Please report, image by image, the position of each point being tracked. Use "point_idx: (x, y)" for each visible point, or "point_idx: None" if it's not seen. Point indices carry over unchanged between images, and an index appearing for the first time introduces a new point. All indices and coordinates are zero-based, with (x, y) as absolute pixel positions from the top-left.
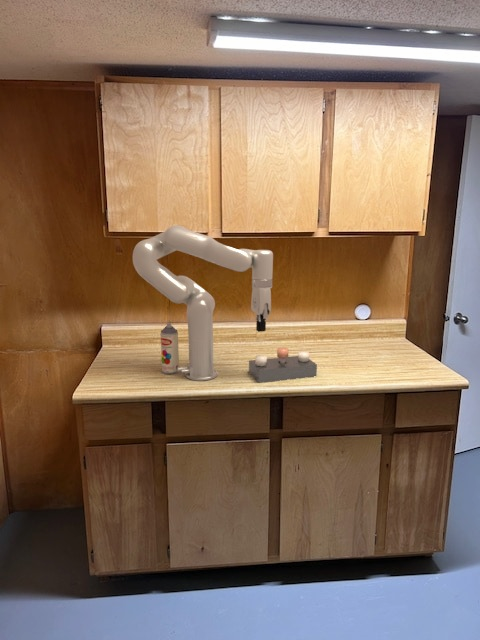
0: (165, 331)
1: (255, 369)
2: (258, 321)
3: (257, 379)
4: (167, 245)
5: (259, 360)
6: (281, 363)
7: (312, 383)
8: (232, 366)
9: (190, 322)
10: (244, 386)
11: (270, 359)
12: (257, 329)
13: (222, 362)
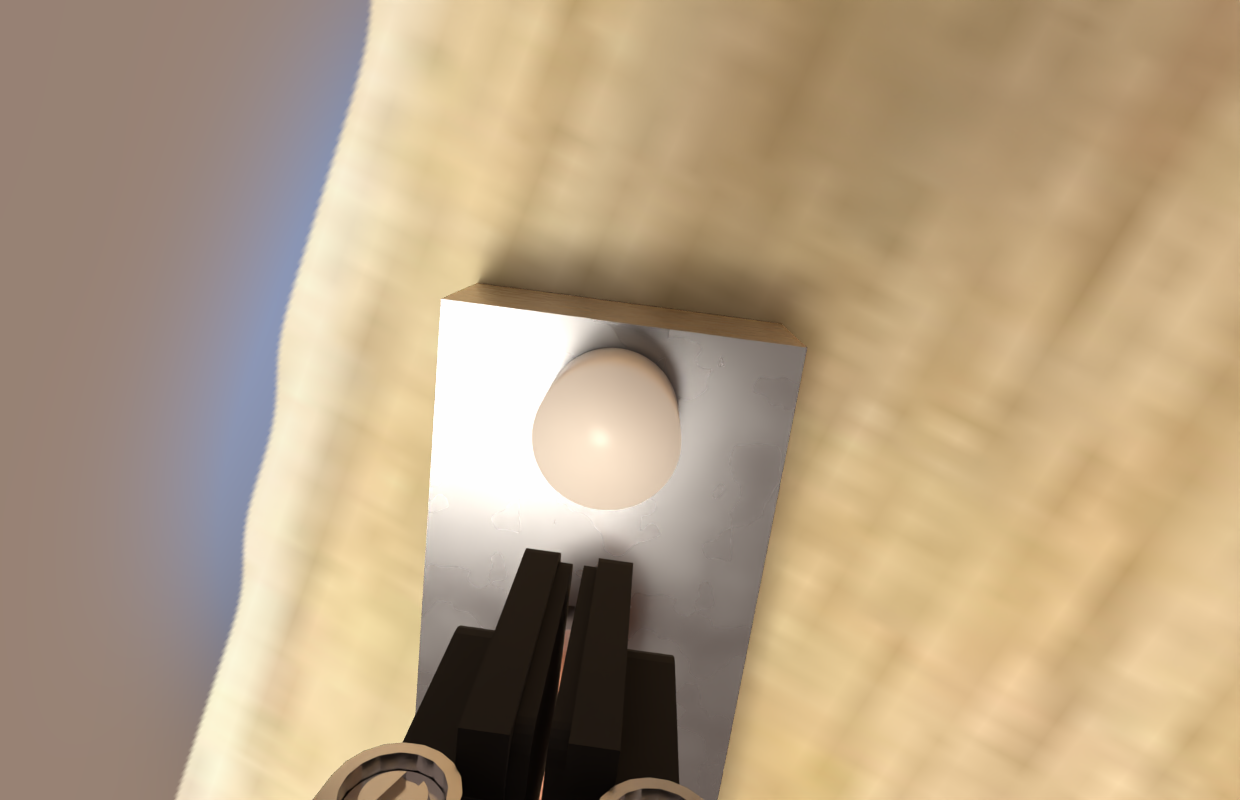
0: None
1: (560, 309)
2: (456, 748)
3: (507, 290)
4: None
5: (554, 384)
6: (566, 622)
7: (315, 682)
8: (1036, 240)
9: None
10: (443, 110)
11: (727, 583)
12: (535, 567)
13: (1224, 187)
